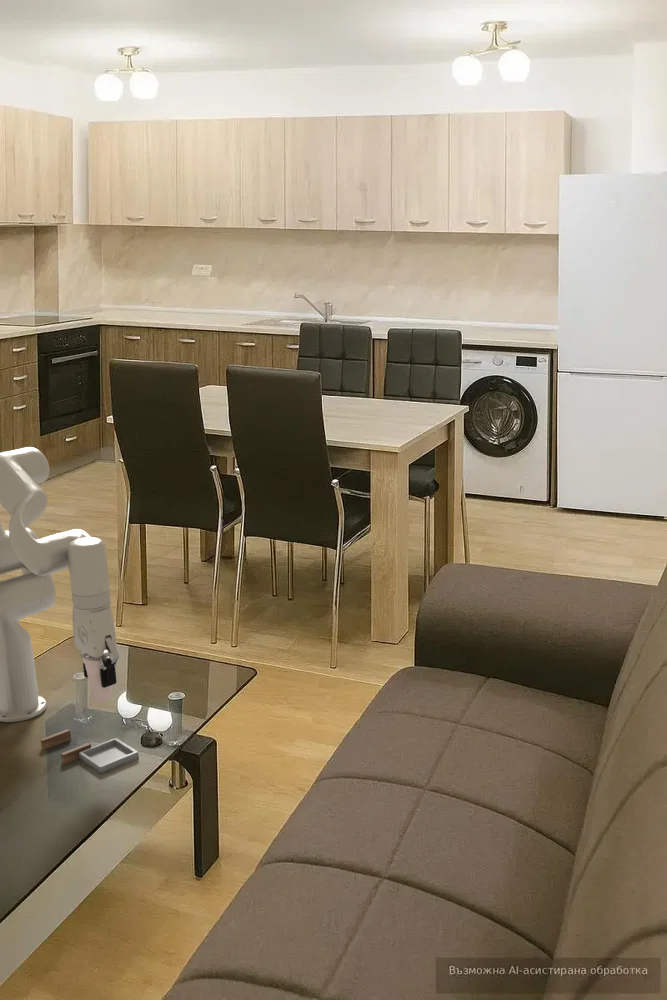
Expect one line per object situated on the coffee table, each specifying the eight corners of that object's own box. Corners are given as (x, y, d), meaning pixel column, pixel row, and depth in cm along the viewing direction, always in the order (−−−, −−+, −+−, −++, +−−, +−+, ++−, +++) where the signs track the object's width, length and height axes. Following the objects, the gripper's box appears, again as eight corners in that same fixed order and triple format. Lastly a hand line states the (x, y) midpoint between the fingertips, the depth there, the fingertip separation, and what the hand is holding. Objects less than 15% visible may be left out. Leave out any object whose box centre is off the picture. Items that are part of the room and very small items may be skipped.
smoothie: (110, 705, 225) (104, 641, 221) (81, 703, 226) (74, 640, 222) (122, 691, 231) (116, 629, 227) (94, 690, 232) (87, 628, 228)
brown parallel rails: (41, 748, 238) (40, 739, 237) (68, 738, 242) (67, 728, 241) (64, 764, 231) (63, 755, 230) (91, 753, 235) (90, 744, 234)
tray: (79, 759, 233) (78, 752, 232) (116, 744, 238) (115, 737, 238) (101, 774, 226) (100, 767, 226) (138, 758, 232) (138, 751, 231)
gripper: (54, 593, 227) (63, 674, 231) (97, 614, 214) (106, 699, 219) (86, 584, 231) (95, 663, 236) (130, 603, 219) (138, 687, 224)
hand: (100, 679), depth 227 cm, fingers closed on smoothie, 6 cm apart
